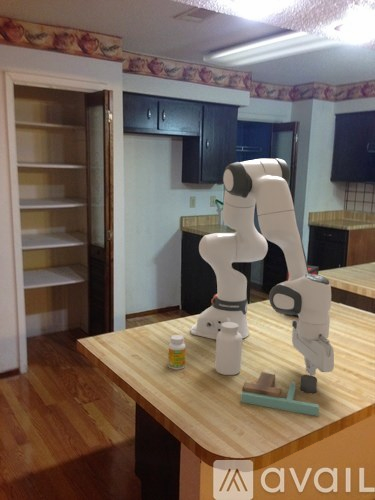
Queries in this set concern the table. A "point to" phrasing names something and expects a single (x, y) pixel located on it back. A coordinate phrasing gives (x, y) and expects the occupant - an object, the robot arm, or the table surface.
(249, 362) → the table surface
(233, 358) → the pill bottle
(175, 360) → the supplement bottle
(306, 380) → the grey rounded lump
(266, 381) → the t block
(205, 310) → the robot arm
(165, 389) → the table surface
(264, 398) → the rail
